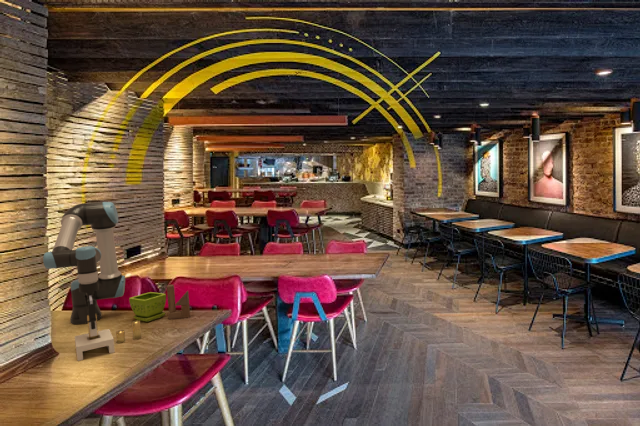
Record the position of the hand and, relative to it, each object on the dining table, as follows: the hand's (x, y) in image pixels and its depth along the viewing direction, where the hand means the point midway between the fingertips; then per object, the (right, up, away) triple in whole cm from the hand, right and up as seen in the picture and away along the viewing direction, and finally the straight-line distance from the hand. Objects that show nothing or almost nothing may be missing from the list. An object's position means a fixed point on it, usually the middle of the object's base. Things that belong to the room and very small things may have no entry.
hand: (93, 334), depth 185 cm
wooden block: (+24, -3, +41) cm, 48 cm away
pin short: (+8, -6, +10) cm, 14 cm away
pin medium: (+13, -6, +13) cm, 20 cm away
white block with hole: (0, -7, +1) cm, 7 cm away
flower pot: (+7, -4, +43) cm, 44 cm away
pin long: (0, -3, 0) cm, 3 cm away
